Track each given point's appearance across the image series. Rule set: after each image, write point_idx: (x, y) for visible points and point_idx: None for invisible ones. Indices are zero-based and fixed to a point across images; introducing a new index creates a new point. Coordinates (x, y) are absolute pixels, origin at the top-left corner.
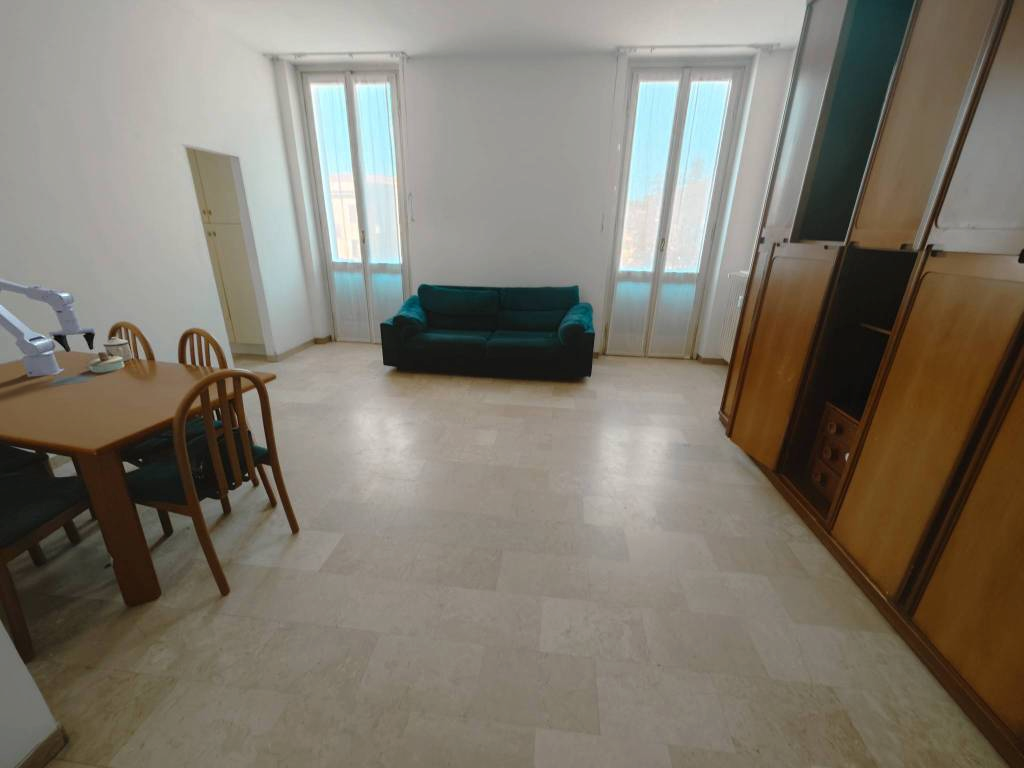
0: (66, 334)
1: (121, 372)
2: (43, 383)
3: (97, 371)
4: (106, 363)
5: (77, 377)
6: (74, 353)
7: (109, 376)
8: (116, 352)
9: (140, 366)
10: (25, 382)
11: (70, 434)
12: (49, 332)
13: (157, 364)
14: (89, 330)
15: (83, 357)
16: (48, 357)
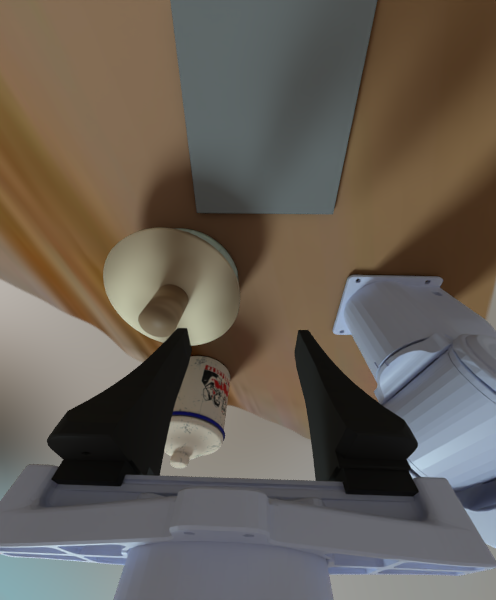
0: (296, 490)
1: (109, 209)
2: (390, 142)
3: (200, 236)
4: (133, 235)
5: (256, 168)
6: None
7: (123, 147)
8: (186, 385)
9: (88, 278)
10: (455, 205)
11: None
12: (487, 563)
13: (38, 281)
14: (25, 521)
15: (307, 420)
16: (392, 339)
